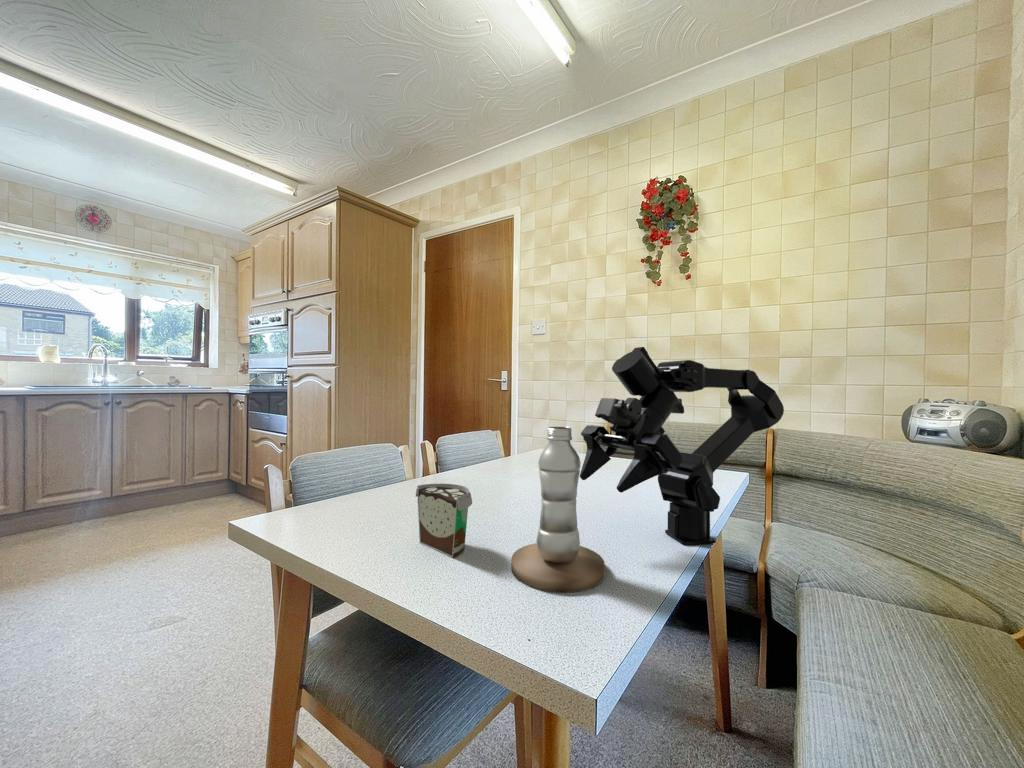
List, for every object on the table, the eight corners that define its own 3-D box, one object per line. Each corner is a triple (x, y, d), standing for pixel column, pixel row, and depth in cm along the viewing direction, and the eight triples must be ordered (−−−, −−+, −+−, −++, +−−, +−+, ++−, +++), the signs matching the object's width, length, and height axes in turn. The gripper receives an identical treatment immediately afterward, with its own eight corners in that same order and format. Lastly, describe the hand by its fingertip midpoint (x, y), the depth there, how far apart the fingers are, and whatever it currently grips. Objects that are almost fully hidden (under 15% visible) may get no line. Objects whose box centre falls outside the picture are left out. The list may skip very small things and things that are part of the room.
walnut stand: (585, 548, 69) (585, 540, 69) (620, 588, 55) (620, 577, 55) (504, 553, 67) (505, 544, 67) (520, 596, 53) (520, 584, 53)
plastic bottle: (527, 558, 61) (528, 427, 62) (557, 547, 66) (558, 425, 66) (558, 573, 56) (559, 430, 57) (589, 560, 61) (590, 428, 61)
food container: (486, 550, 68) (487, 491, 68) (458, 561, 64) (459, 497, 64) (442, 532, 76) (443, 479, 77) (414, 540, 72) (415, 484, 72)
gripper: (589, 382, 76) (539, 444, 71) (668, 380, 59) (610, 460, 54) (621, 422, 79) (575, 484, 74) (704, 431, 63) (653, 511, 57)
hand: (598, 484), depth 65 cm, fingers open, 9 cm apart
